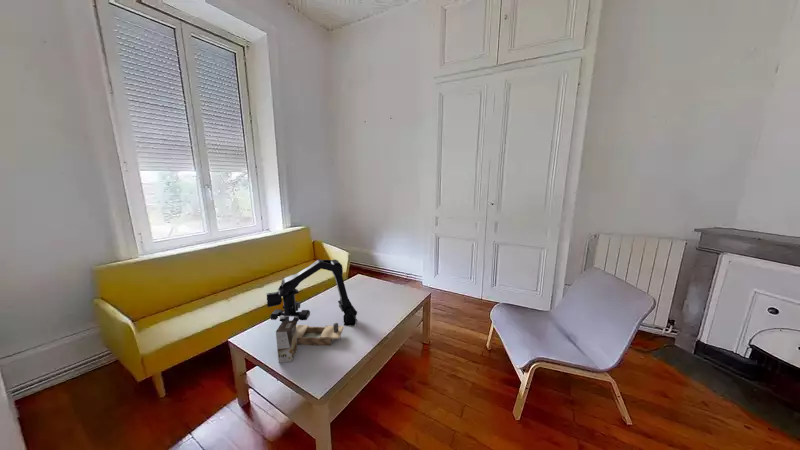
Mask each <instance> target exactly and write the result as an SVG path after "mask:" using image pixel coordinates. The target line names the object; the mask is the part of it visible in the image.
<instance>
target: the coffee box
mask: <svg viewBox="0 0 800 450" xmlns="http://www.w3.org/2000/svg"><path fill="white" fill-rule="evenodd" d="M296 325H297V324H296V321H292V320H289V321H283V322H281V323H280V324H279V326H278V328H277V329H276V331H275V337H276V338H275V339H276V349H277V360H278V363H292V362H293V360H294V358H295V356H296V354H297V351H298V350H299V349H298V345H297V334H296Z"/></svg>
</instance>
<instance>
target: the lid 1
mask: <svg viewBox="0 0 800 450" xmlns="http://www.w3.org/2000/svg"><path fill="white" fill-rule="evenodd" d="M308 327H309V324H296V334H297V338H302V336H303V334H304V333H305V331H306V330H307V328H308Z"/></svg>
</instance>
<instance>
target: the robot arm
mask: <svg viewBox="0 0 800 450" xmlns="http://www.w3.org/2000/svg"><path fill="white" fill-rule="evenodd" d="M320 270H325V271H326V270H327V271H328V272H331V274H332V275H333V277H334V279H335V283H336V287H337V291H338V294H339V300H337V302H338V307H339V308H340V311H341V312H343V313H344V314H343V326H351V327H352V326H356V324H357V320H358V319H357V315H358V311H357V310H356V308H355V307H354V306H353V305H352V302H351V301H350V299H349V297H348V292H347V289H346V285H345V282H344V278H343V274H344V272H343V271H344V269H343V265H342V264H341V262H339V260H337V259H316V261H314V262H313V263H311V264H310V265H309V266H307V267H305V268H303V269H302V270H301V271H299V272H297V273H295V274H290V275H289V276H286V277H283V279H282V280H281V284H280V285H279V287H278V289H277V291H275V292H268V293H266V306H267V308H271V307H276V306H280V305H281V304H283V305H282V309H278V308H276V309H275V310H273V312H272V313H270V315H269V317H270V320H272V321H276V320H277V319H278V318H279V322H281V323H282V322H283V321H290V317H292V320H291V321H296V325H298V322H299V320H300V321H307V320H308V318H309V317H310V316H311V311H310V310H309V309H301V304H302V303H301V301H297V300H296V295H297V294H299V293H300V291H299V290H298V289H297V287H298V286H299V285H300V283H301V282H303V281H304V280H306V279H307V278H309V277H310V276H312V275H313V274H315V273H317V272H318V271H320ZM282 302H283V303H282ZM299 309H301V311H299Z"/></svg>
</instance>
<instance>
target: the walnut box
mask: <svg viewBox="0 0 800 450" xmlns="http://www.w3.org/2000/svg"><path fill="white" fill-rule="evenodd" d="M324 328H325V326H308V328H307V330H306V331H305V333H304V334H303V336H302V338H297V346H326V347H328V346H329V347H331V345H332V343H333V341H334V339H323V338H320V336H321V334H322V332H323V330H324Z"/></svg>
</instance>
